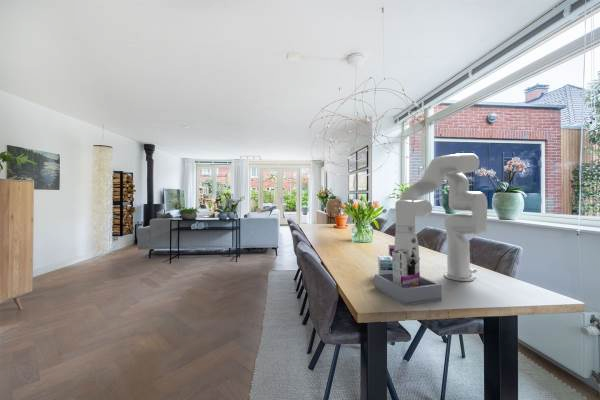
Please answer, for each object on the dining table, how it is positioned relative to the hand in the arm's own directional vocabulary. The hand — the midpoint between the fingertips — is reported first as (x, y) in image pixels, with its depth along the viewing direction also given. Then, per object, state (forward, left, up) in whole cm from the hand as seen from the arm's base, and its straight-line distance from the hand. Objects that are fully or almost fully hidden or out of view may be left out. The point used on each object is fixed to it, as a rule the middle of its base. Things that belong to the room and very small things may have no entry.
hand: (406, 272), depth 107 cm
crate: (0, 0, -9) cm, 9 cm away
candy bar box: (0, 0, -7) cm, 7 cm away
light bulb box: (-3, -19, -9) cm, 21 cm away
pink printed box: (-15, -23, -9) cm, 29 cm away
